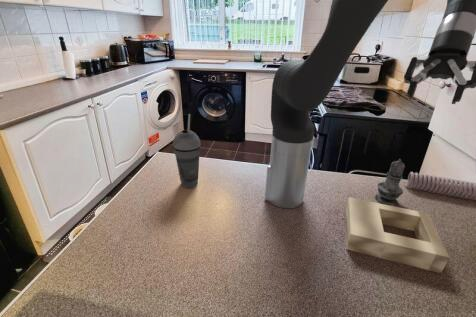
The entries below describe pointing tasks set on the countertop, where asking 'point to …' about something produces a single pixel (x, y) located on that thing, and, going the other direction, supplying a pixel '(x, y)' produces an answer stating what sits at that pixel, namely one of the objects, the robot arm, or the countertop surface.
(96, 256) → the countertop surface
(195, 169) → the beverage cup
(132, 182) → the countertop surface
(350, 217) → the jig
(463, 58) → the robot arm
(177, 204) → the countertop surface
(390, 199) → the grey tall knobbed piece
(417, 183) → the coil
